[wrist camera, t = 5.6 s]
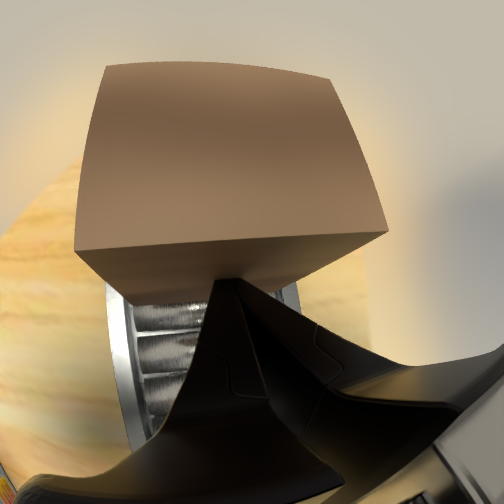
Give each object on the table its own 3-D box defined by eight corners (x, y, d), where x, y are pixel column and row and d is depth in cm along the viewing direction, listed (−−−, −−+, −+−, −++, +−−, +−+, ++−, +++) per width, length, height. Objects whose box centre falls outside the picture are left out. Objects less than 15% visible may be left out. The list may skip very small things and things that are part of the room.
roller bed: (304, 463, 14) (360, 503, 8) (155, 492, 11) (152, 553, 5) (261, 197, 18) (298, 139, 12) (115, 204, 15) (94, 141, 10)
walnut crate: (274, 292, 13) (389, 230, 6) (133, 306, 12) (74, 251, 4) (257, 195, 15) (329, 79, 7) (130, 201, 13) (106, 65, 5)
